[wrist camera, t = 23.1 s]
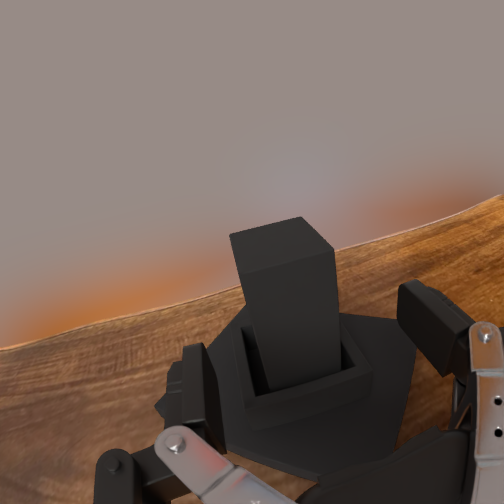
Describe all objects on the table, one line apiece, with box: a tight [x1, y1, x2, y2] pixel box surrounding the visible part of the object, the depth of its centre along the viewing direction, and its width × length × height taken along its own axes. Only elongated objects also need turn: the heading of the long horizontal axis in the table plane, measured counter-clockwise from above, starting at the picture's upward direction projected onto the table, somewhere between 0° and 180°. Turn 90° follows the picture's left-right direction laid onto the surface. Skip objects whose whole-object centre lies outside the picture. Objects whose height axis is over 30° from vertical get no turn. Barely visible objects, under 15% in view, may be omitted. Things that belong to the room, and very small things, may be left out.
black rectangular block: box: [229, 217, 341, 393], centre depth 18 cm, size 5×4×10 cm
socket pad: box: [154, 304, 417, 482], centre depth 20 cm, size 14×16×4 cm
